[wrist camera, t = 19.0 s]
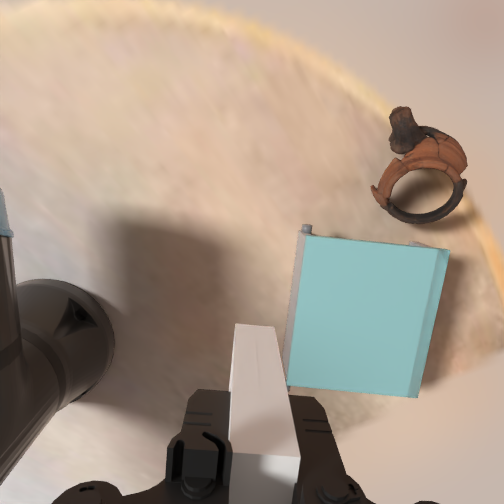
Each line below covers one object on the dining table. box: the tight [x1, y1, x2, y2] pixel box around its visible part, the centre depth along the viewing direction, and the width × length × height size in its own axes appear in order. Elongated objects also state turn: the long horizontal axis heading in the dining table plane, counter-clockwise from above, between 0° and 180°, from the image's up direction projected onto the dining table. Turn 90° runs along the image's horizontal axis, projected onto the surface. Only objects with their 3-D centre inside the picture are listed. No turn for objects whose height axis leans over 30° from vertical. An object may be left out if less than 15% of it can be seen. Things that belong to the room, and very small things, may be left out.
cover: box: [286, 235, 450, 398], centre depth 39 cm, size 14×17×1 cm
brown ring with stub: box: [371, 106, 468, 224], centre depth 38 cm, size 12×10×8 cm
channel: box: [282, 224, 432, 392], centre depth 41 cm, size 14×19×5 cm
